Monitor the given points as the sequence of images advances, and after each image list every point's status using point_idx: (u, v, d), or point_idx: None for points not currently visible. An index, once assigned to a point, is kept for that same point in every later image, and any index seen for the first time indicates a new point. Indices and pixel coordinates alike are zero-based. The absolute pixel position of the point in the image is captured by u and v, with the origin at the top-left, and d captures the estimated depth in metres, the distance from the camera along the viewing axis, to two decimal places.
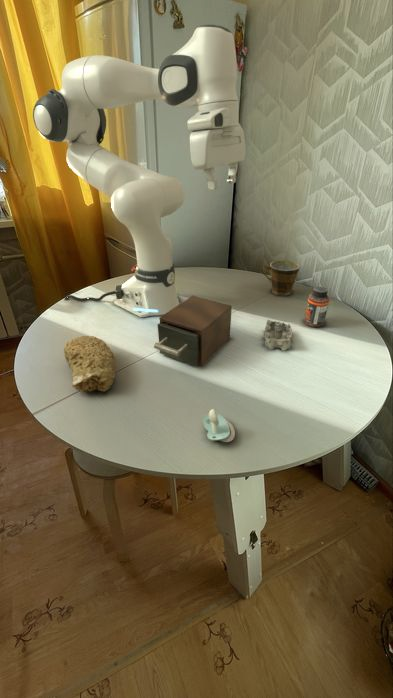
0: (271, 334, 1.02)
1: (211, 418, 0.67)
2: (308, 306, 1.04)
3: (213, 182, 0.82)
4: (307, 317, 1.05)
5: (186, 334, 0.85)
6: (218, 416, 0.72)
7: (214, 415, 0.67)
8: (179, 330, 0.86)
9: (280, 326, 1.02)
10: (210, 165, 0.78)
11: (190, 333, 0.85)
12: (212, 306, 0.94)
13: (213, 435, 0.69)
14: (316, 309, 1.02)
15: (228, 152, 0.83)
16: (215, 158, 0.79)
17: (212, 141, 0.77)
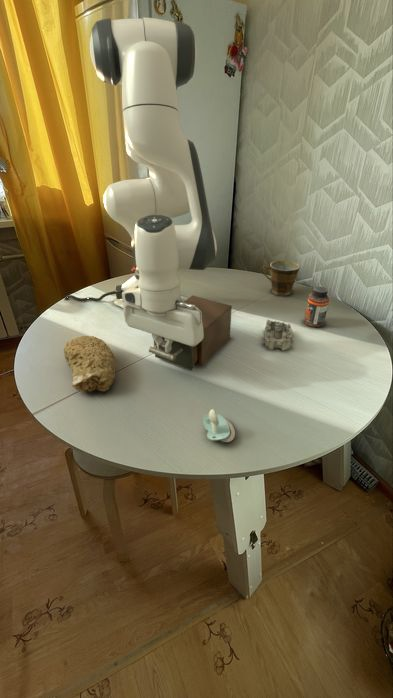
0: (271, 334, 1.02)
1: (211, 418, 0.67)
2: (308, 306, 1.04)
3: None
4: (307, 317, 1.05)
5: None
6: (218, 416, 0.72)
7: (214, 415, 0.67)
8: None
9: (280, 326, 1.02)
10: (131, 326, 0.83)
11: None
12: (212, 306, 0.94)
13: (213, 435, 0.69)
14: (316, 309, 1.02)
15: (159, 327, 0.78)
16: (138, 324, 0.82)
17: (136, 310, 0.80)
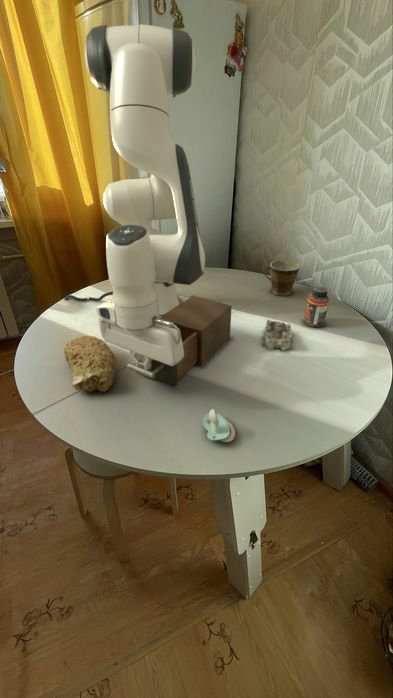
0: (271, 334, 1.02)
1: (211, 418, 0.67)
2: (308, 306, 1.04)
3: None
4: (307, 317, 1.05)
5: None
6: (218, 416, 0.72)
7: (214, 415, 0.67)
8: None
9: (280, 326, 1.02)
10: (108, 341, 0.78)
11: None
12: (212, 306, 0.94)
13: (213, 435, 0.69)
14: (316, 309, 1.02)
15: (137, 345, 0.73)
16: (115, 340, 0.76)
17: (112, 325, 0.75)
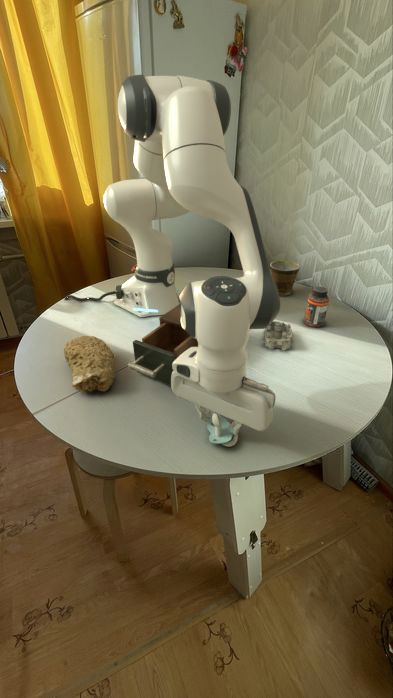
0: (271, 334, 1.02)
1: (213, 421, 0.67)
2: (308, 306, 1.04)
3: None
4: (307, 317, 1.05)
5: (162, 353, 0.78)
6: (223, 419, 0.72)
7: (216, 418, 0.66)
8: (155, 348, 0.79)
9: (280, 326, 1.02)
10: (179, 396, 0.69)
11: (167, 352, 0.78)
12: None
13: (215, 438, 0.68)
14: (316, 309, 1.02)
15: (217, 404, 0.65)
16: (189, 395, 0.68)
17: (188, 380, 0.66)
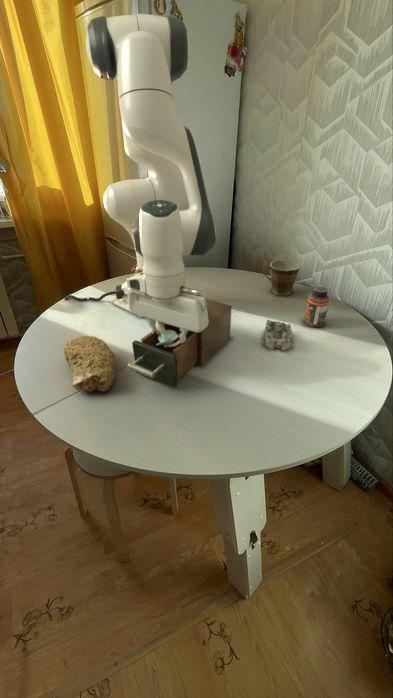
0: (271, 334, 1.02)
1: (156, 327, 0.81)
2: (308, 306, 1.04)
3: None
4: (307, 317, 1.05)
5: (162, 354, 0.78)
6: (172, 332, 0.85)
7: (157, 323, 0.80)
8: (155, 349, 0.79)
9: (280, 326, 1.02)
10: (135, 313, 0.83)
11: (166, 352, 0.78)
12: (212, 306, 0.94)
13: None
14: (316, 309, 1.02)
15: (164, 314, 0.78)
16: (142, 311, 0.82)
17: (140, 297, 0.80)
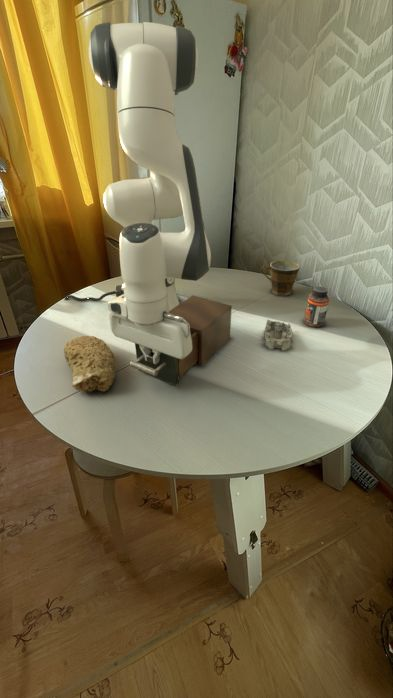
0: (271, 334, 1.02)
1: None
2: (308, 306, 1.04)
3: None
4: (307, 317, 1.05)
5: None
6: None
7: None
8: None
9: (280, 326, 1.02)
10: (118, 336, 0.81)
11: None
12: (212, 306, 0.94)
13: None
14: (316, 309, 1.02)
15: (146, 339, 0.76)
16: (125, 334, 0.79)
17: (123, 320, 0.77)
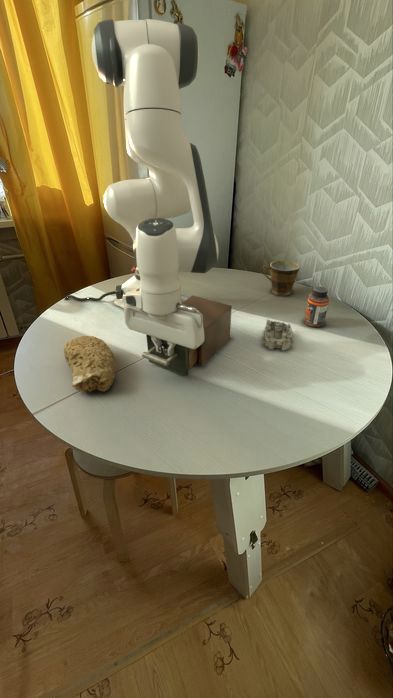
0: (271, 334, 1.02)
1: None
2: (308, 306, 1.04)
3: None
4: (307, 317, 1.05)
5: None
6: None
7: None
8: None
9: (280, 326, 1.02)
10: (131, 328, 0.83)
11: None
12: (212, 306, 0.94)
13: None
14: (316, 309, 1.02)
15: (160, 330, 0.78)
16: (139, 326, 0.82)
17: (137, 313, 0.80)
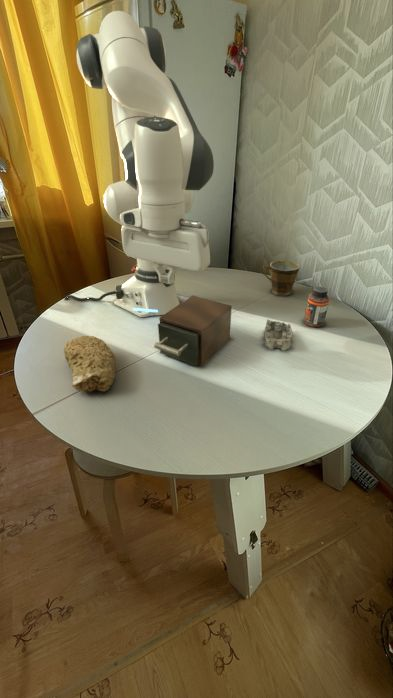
0: (271, 334, 1.02)
1: None
2: (308, 306, 1.04)
3: None
4: (307, 317, 1.05)
5: (186, 334, 0.85)
6: None
7: None
8: (180, 329, 0.86)
9: (280, 326, 1.02)
10: (130, 255, 0.76)
11: (190, 333, 0.85)
12: (212, 306, 0.94)
13: None
14: (316, 309, 1.02)
15: (161, 253, 0.71)
16: (138, 251, 0.75)
17: (136, 235, 0.73)
